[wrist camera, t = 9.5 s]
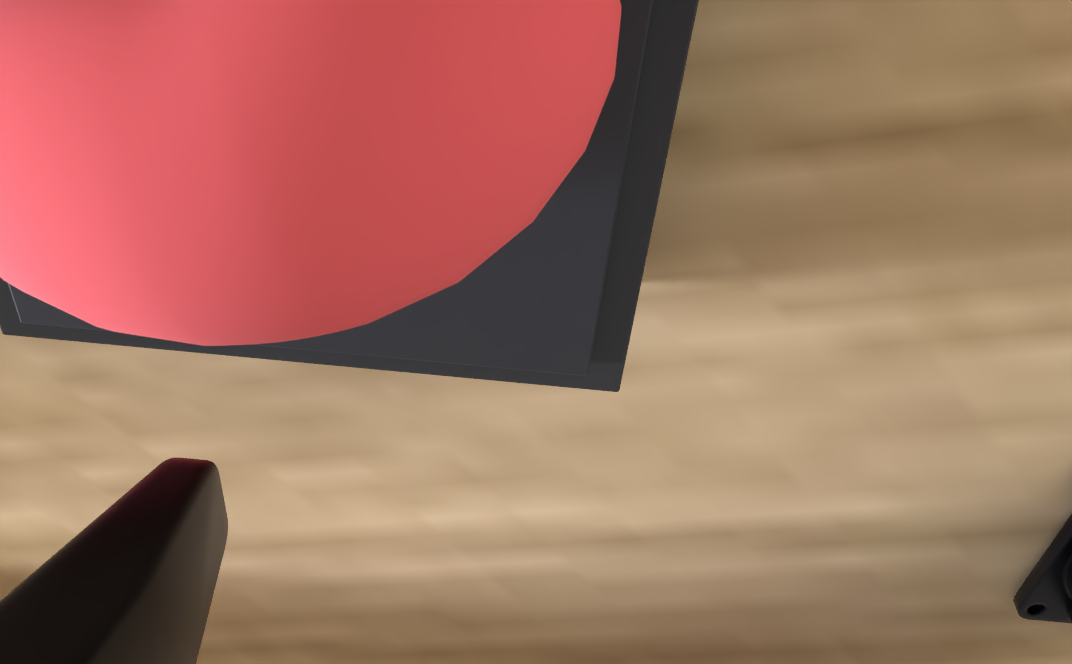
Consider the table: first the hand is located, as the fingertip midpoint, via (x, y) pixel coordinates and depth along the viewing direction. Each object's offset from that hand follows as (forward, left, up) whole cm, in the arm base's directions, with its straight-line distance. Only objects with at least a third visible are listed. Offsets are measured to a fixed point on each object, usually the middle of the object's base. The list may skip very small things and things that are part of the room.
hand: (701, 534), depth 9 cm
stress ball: (+1, +6, -8) cm, 10 cm away
